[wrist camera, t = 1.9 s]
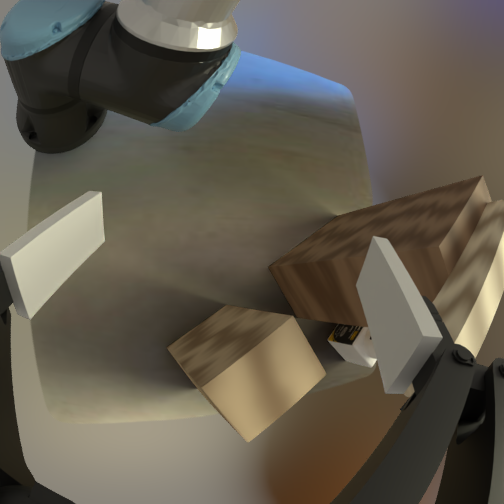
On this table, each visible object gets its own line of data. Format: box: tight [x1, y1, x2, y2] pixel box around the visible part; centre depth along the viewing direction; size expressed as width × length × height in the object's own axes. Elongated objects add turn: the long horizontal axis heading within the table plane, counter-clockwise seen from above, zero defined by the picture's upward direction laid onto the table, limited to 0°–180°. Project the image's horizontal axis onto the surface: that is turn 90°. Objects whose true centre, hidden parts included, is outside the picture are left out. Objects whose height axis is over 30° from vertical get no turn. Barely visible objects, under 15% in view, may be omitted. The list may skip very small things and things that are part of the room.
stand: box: [268, 175, 492, 327], centre depth 40 cm, size 18×10×30 cm, turn 123°
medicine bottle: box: [328, 324, 377, 367], centre depth 49 cm, size 7×7×12 cm
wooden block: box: [404, 199, 504, 397], centre depth 22 cm, size 26×4×4 cm, turn 123°
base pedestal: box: [166, 305, 326, 442], centre depth 35 cm, size 11×8×18 cm
